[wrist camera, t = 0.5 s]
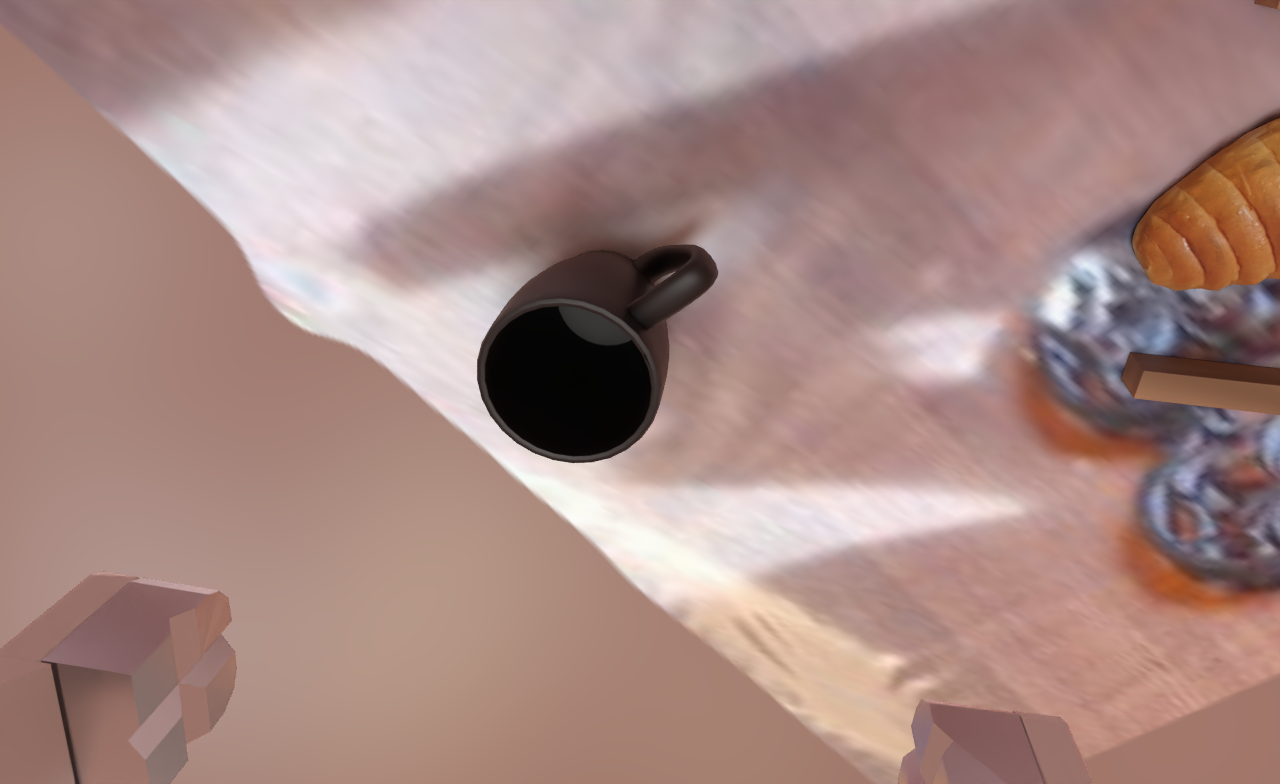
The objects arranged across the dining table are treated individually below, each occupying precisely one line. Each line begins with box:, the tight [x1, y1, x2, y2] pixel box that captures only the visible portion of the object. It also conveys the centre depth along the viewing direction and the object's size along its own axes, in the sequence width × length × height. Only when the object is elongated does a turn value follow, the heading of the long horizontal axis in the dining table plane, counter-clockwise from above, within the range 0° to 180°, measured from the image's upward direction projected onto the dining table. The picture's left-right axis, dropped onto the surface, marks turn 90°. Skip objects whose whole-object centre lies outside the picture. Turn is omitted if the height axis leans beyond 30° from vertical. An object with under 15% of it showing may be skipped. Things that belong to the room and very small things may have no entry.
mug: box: [477, 245, 718, 463], centre depth 43 cm, size 8×12×10 cm
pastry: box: [1132, 118, 1280, 291], centre depth 40 cm, size 9×7×4 cm
